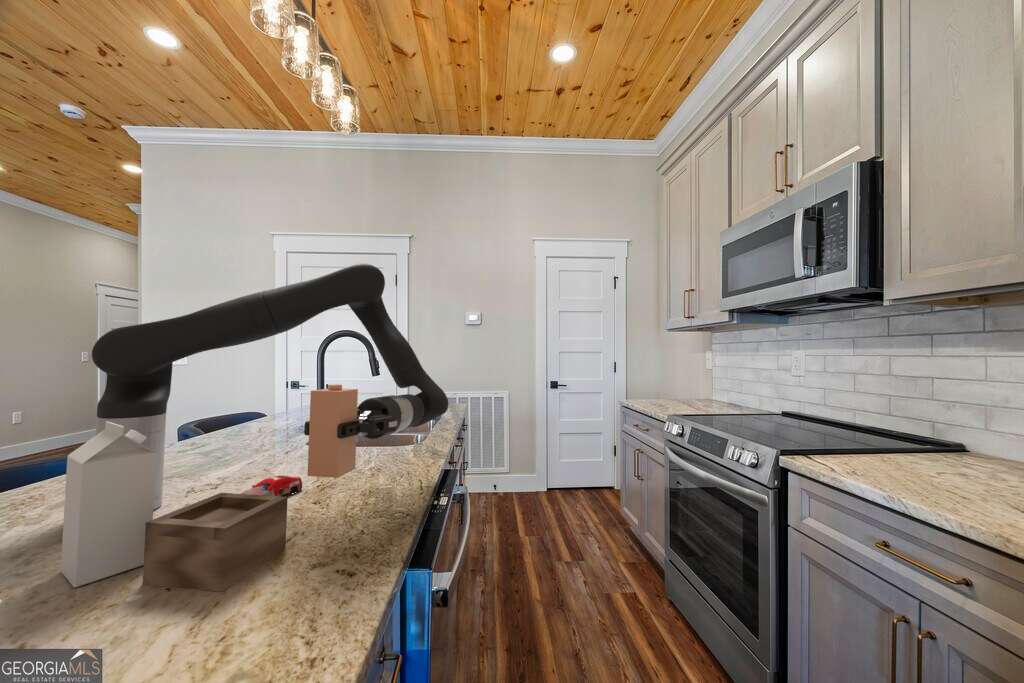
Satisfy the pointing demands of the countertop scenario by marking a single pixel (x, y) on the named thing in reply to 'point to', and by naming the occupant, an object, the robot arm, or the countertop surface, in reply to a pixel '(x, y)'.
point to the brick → (331, 432)
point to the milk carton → (107, 505)
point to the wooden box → (214, 541)
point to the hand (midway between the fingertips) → (322, 430)
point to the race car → (276, 486)
